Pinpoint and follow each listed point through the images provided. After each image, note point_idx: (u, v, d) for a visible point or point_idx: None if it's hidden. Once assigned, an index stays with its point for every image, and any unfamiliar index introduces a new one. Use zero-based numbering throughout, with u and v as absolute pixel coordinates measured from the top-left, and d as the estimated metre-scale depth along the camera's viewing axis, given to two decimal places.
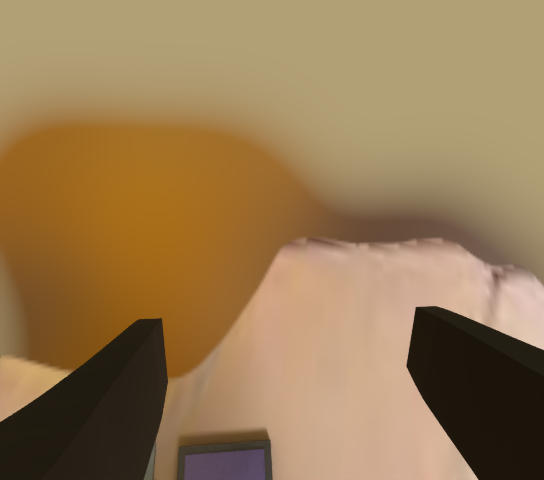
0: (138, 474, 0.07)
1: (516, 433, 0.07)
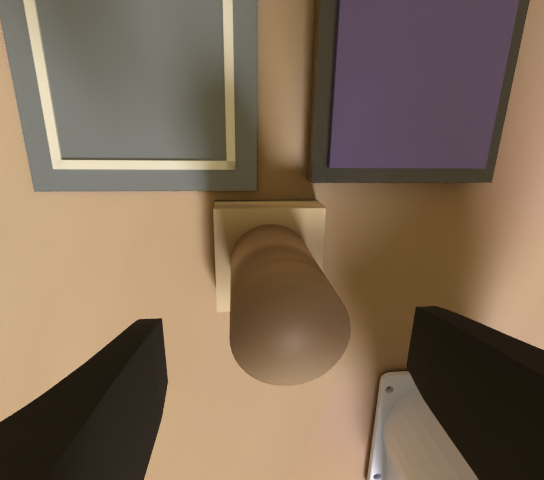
0: (138, 474, 0.07)
1: (516, 433, 0.07)
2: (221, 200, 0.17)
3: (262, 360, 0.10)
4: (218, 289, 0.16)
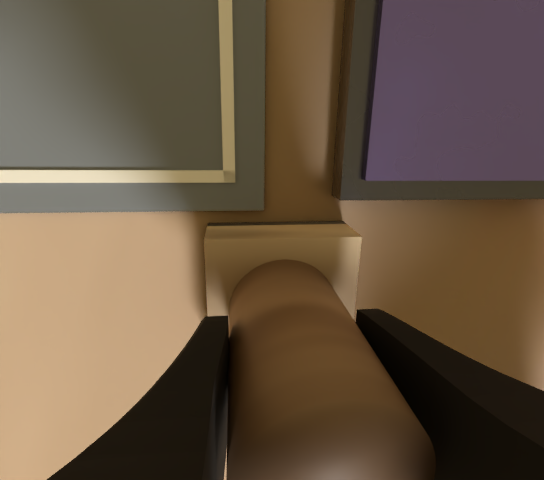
0: (222, 466, 0.07)
1: (431, 441, 0.06)
2: (216, 223, 0.12)
3: None
4: None
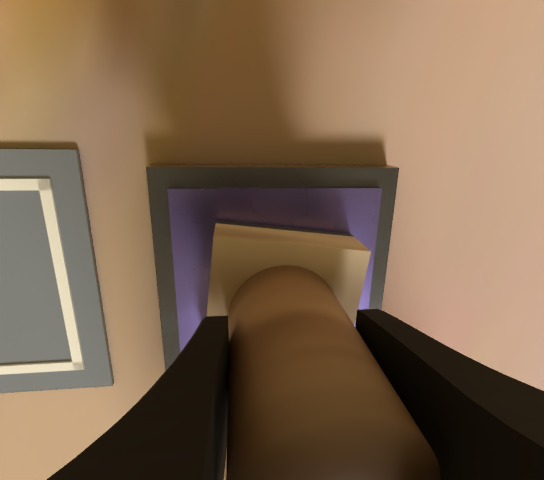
0: (222, 466, 0.07)
1: (431, 441, 0.06)
2: (224, 221, 0.12)
3: None
4: None
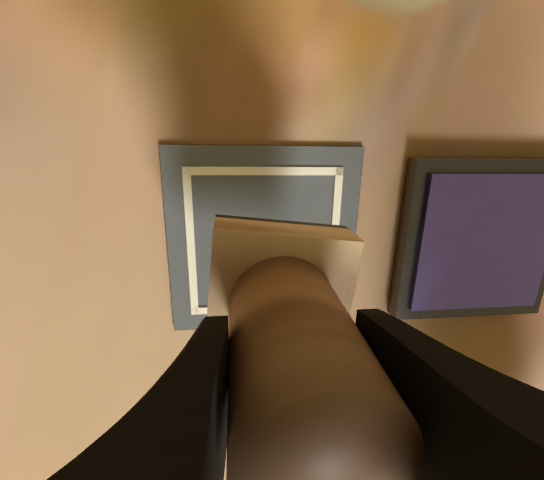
0: (222, 466, 0.07)
1: (431, 441, 0.06)
2: (223, 215, 0.13)
3: None
4: None
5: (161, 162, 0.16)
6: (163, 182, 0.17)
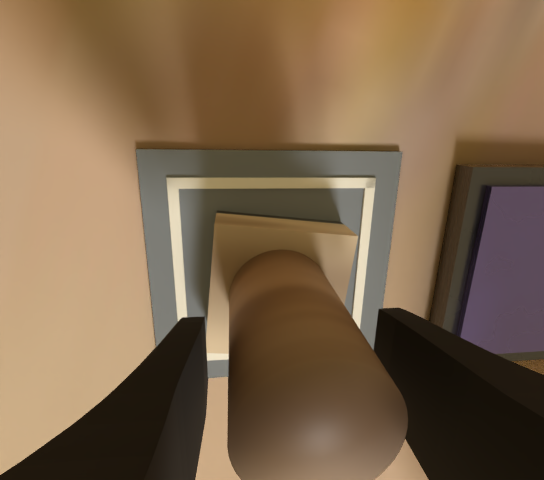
0: (193, 469, 0.07)
1: (462, 438, 0.06)
2: (224, 211, 0.13)
3: (272, 469, 0.07)
4: (209, 325, 0.12)
5: (139, 172, 0.12)
6: (142, 198, 0.13)
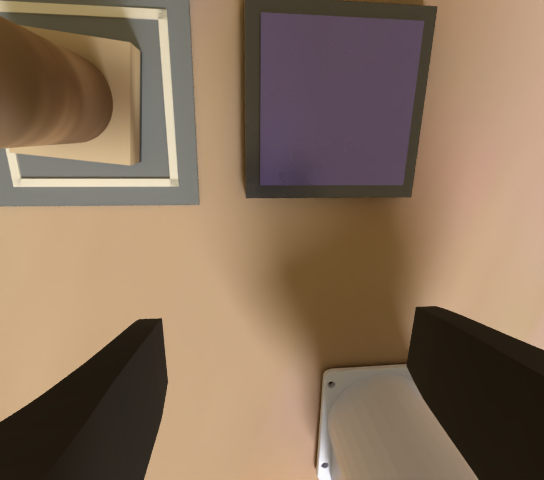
0: (138, 474, 0.07)
1: (516, 433, 0.07)
2: None
3: None
4: None
5: None
6: None
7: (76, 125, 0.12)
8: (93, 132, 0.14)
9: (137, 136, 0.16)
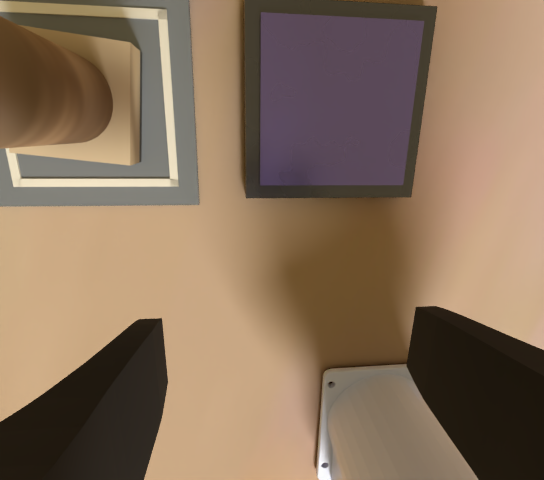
0: (138, 474, 0.07)
1: (516, 433, 0.07)
2: None
3: None
4: None
5: None
6: None
7: (76, 125, 0.12)
8: (93, 132, 0.14)
9: (137, 136, 0.16)
